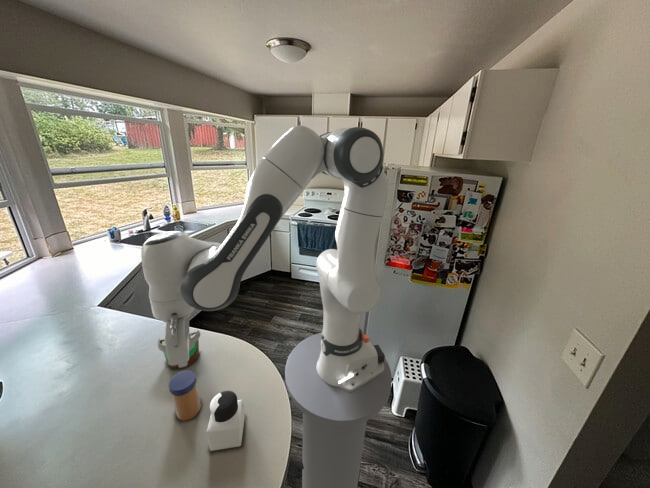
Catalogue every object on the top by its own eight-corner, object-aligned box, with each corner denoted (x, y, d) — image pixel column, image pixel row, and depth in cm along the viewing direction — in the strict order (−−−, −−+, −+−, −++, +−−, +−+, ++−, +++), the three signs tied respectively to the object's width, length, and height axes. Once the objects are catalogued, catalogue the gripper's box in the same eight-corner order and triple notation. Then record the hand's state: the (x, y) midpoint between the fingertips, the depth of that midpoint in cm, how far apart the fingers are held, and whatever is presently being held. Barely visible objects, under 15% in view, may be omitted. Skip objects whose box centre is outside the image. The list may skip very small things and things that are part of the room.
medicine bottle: (244, 417, 67) (241, 384, 63) (241, 446, 60) (236, 412, 56) (216, 421, 66) (211, 388, 61) (209, 451, 59) (203, 417, 55)
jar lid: (197, 372, 69) (196, 367, 68) (196, 391, 64) (194, 386, 63) (171, 379, 67) (170, 374, 66) (168, 399, 61) (166, 394, 61)
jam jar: (201, 397, 72) (195, 369, 68) (200, 415, 67) (194, 387, 63) (178, 404, 70) (171, 376, 66) (175, 423, 65) (168, 394, 61)
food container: (159, 377, 78) (153, 352, 74) (162, 362, 83) (156, 338, 79) (203, 364, 82) (199, 341, 79) (203, 351, 88) (199, 328, 84)
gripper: (190, 326, 49) (199, 379, 54) (190, 279, 66) (197, 322, 71) (152, 335, 46) (165, 390, 51) (162, 284, 63) (171, 328, 68)
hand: (183, 350), depth 61 cm, fingers open, 8 cm apart
